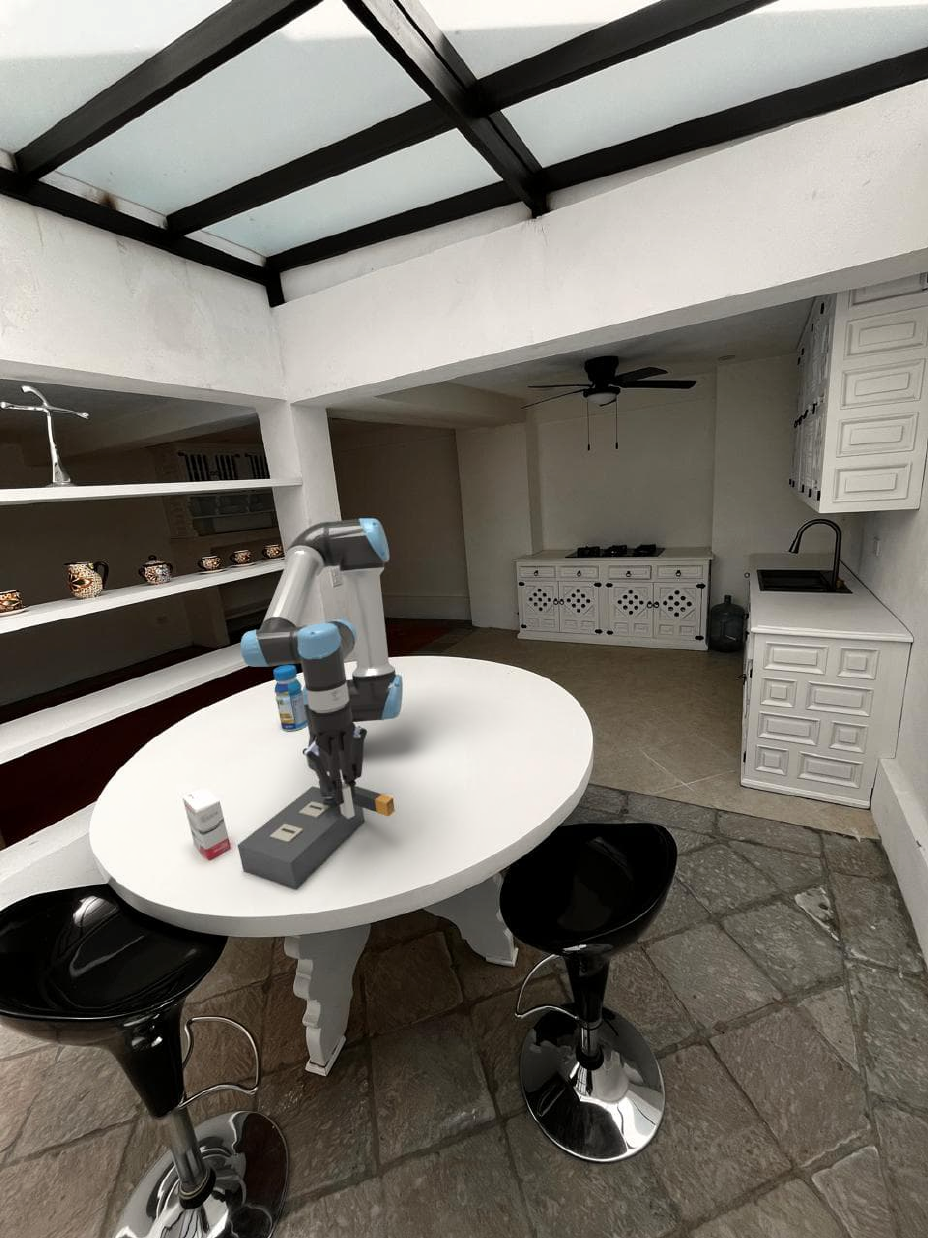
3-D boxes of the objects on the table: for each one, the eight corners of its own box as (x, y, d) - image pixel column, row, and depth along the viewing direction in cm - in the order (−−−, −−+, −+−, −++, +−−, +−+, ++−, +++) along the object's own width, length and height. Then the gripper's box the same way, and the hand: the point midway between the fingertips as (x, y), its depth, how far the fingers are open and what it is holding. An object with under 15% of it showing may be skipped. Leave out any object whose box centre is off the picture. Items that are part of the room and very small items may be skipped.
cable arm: (385, 819, 100) (383, 805, 99) (317, 794, 110) (315, 782, 110) (397, 809, 103) (395, 795, 102) (329, 786, 113) (327, 774, 112)
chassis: (243, 871, 99) (236, 841, 98) (316, 809, 117) (311, 783, 116) (296, 890, 93) (289, 858, 91) (364, 821, 111) (360, 794, 109)
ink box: (232, 848, 107) (220, 799, 104) (208, 861, 103) (195, 811, 100) (216, 832, 112) (205, 785, 109) (193, 844, 109) (180, 797, 106)
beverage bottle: (309, 728, 161) (299, 669, 156) (282, 734, 158) (270, 675, 153) (307, 718, 168) (297, 662, 164) (281, 724, 166) (270, 667, 161)
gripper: (306, 722, 88) (327, 839, 94) (369, 698, 96) (385, 806, 102) (288, 712, 94) (309, 822, 99) (350, 690, 102) (365, 793, 107)
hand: (347, 814), depth 101 cm, fingers closed
